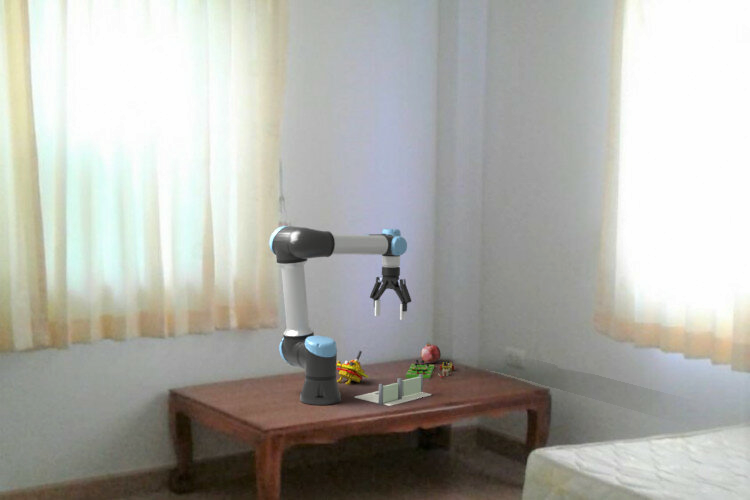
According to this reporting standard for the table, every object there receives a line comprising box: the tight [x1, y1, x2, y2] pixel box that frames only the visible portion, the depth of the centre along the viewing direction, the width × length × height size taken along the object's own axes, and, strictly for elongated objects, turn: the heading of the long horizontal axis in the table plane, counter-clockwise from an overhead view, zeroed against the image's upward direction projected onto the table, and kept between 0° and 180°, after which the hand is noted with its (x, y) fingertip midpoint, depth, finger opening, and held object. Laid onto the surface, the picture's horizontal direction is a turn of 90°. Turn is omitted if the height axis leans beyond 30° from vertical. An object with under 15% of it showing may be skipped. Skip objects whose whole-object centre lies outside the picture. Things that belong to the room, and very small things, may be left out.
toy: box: [336, 350, 370, 386], centre depth 370 cm, size 14×10×15 cm
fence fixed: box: [378, 377, 404, 406], centre depth 338 cm, size 12×2×8 cm, turn 138°
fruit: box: [420, 341, 442, 364], centre depth 412 cm, size 9×10×10 cm
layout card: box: [354, 390, 432, 407], centre depth 347 cm, size 24×18×1 cm
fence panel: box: [402, 374, 424, 397], centre depth 347 cm, size 12×2×7 cm, turn 138°
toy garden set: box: [405, 359, 455, 379], centre depth 391 cm, size 23×19×5 cm
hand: (389, 317), depth 375 cm, fingers open, 13 cm apart
